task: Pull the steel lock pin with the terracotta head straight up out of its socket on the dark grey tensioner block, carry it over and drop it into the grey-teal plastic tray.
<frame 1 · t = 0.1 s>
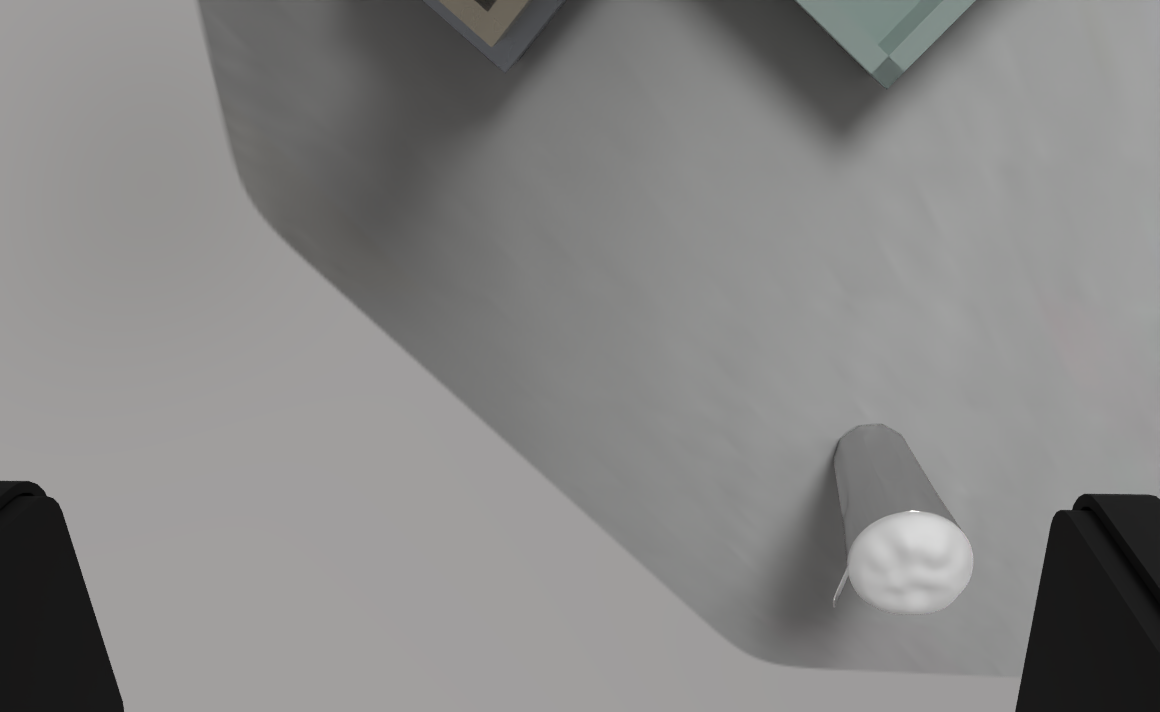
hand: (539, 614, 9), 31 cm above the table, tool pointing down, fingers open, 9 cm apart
milkshake: (860, 452, 43), on the table
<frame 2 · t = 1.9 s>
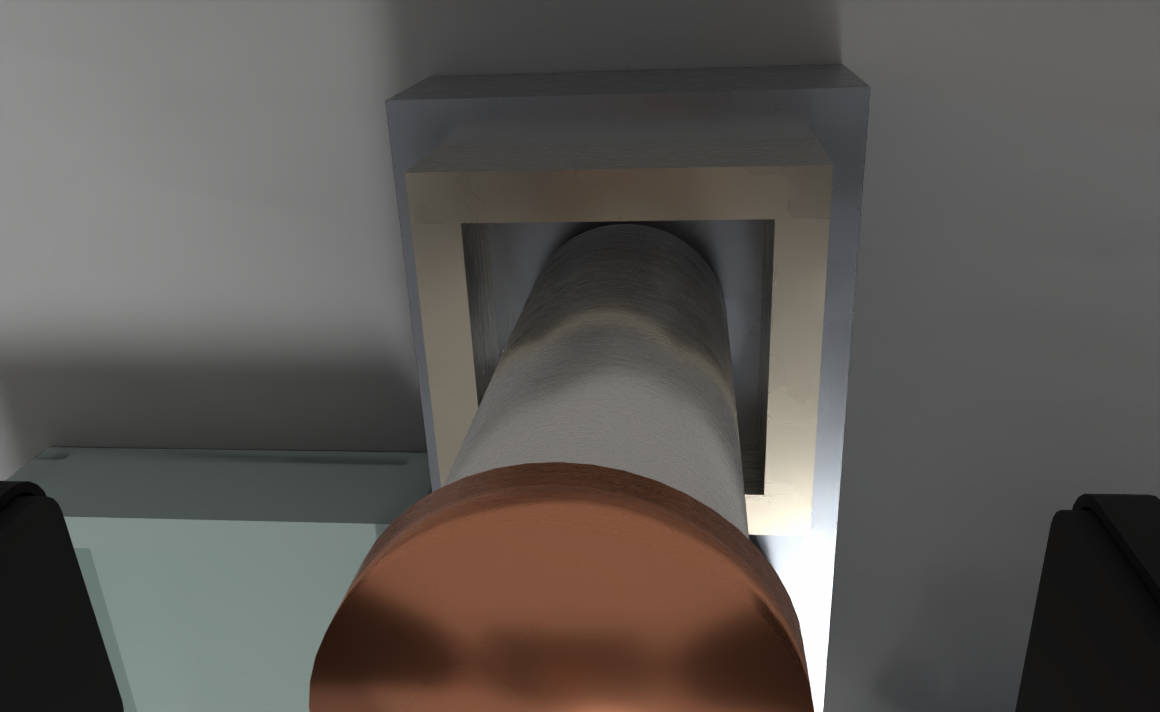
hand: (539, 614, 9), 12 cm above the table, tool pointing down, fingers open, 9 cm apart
lock pin: (626, 320, 17), point 3 cm above the table, touching tensioner
tray: (286, 664, 26), on the table
tensioner: (637, 396, 21), on the table
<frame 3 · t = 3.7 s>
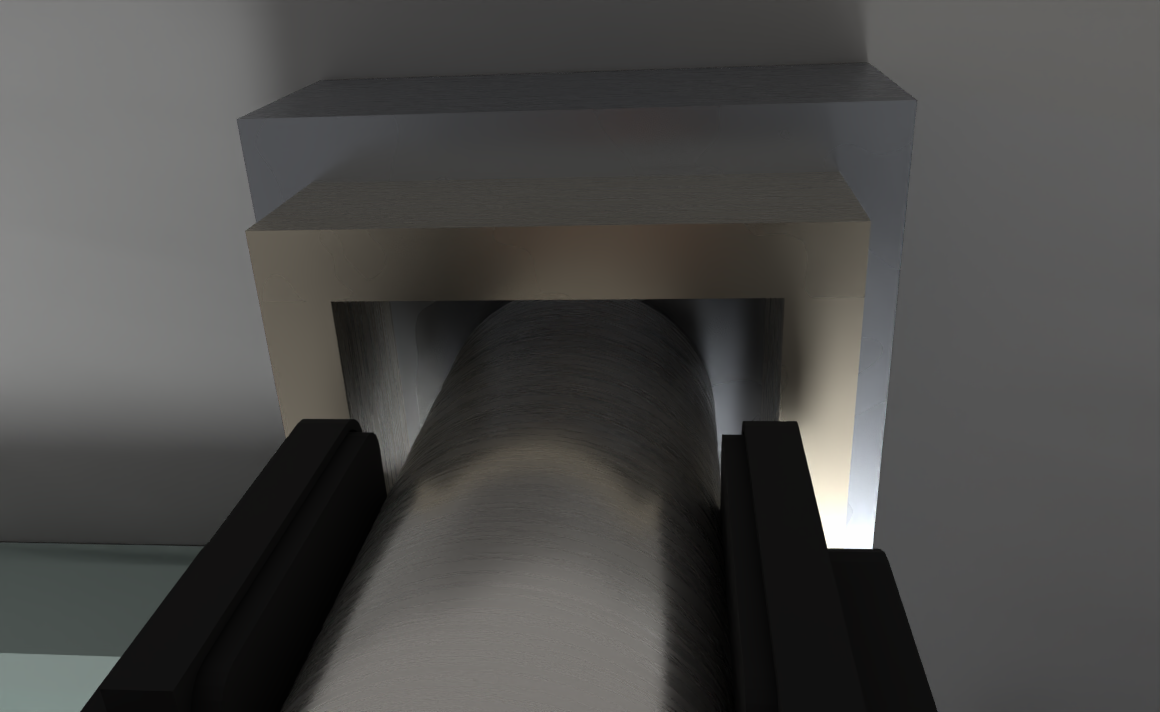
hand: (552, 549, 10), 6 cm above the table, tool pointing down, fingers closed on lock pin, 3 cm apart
lock pin: (579, 412, 13), point 3 cm above the table, touching gripper, tensioner
tensioner: (602, 483, 17), on the table
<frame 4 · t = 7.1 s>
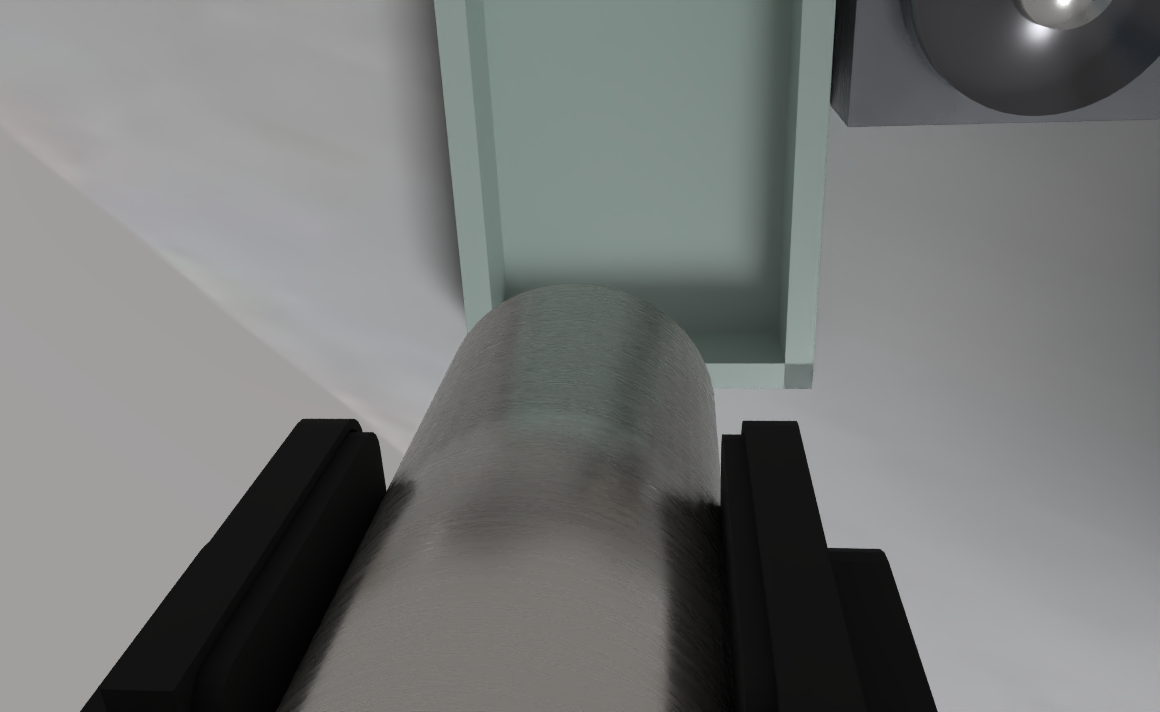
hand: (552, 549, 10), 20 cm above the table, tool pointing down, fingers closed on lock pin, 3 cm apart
lock pin: (579, 409, 13), point 17 cm above the table, touching gripper
tray: (639, 145, 28), on the table
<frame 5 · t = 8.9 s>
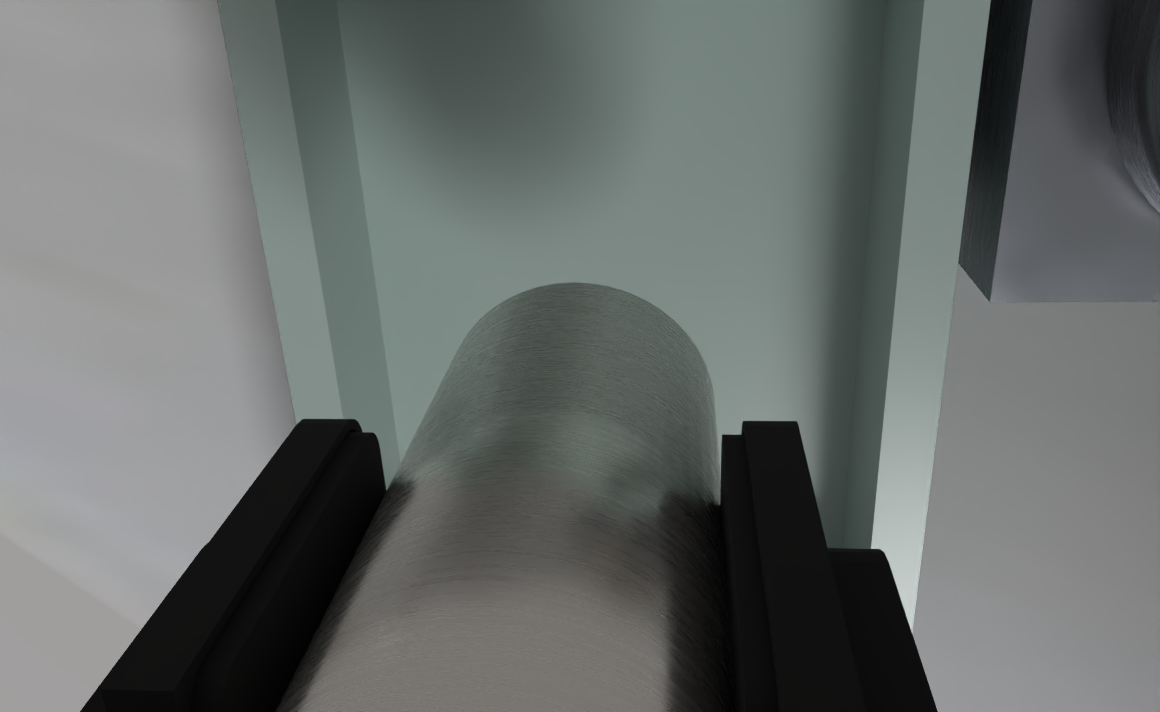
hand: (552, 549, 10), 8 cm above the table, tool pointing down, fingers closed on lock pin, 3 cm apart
lock pin: (579, 408, 13), point 5 cm above the table, touching gripper
tray: (615, 295, 17), on the table
when the fingers open (5 cm above the table, at t = 10.4 s): lock pin drops 1 cm, resting on tray.
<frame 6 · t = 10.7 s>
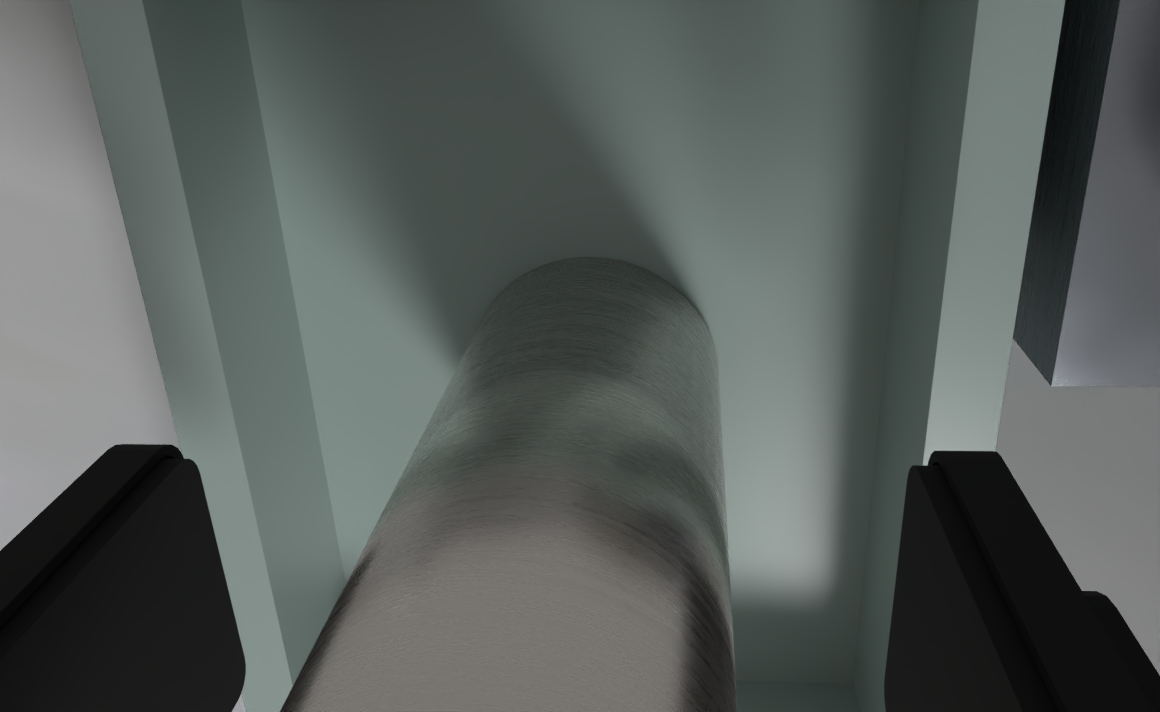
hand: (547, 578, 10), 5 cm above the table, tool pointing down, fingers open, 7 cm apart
lock pin: (593, 374, 14), point 1 cm above the table, touching tray
tray: (590, 356, 14), on the table
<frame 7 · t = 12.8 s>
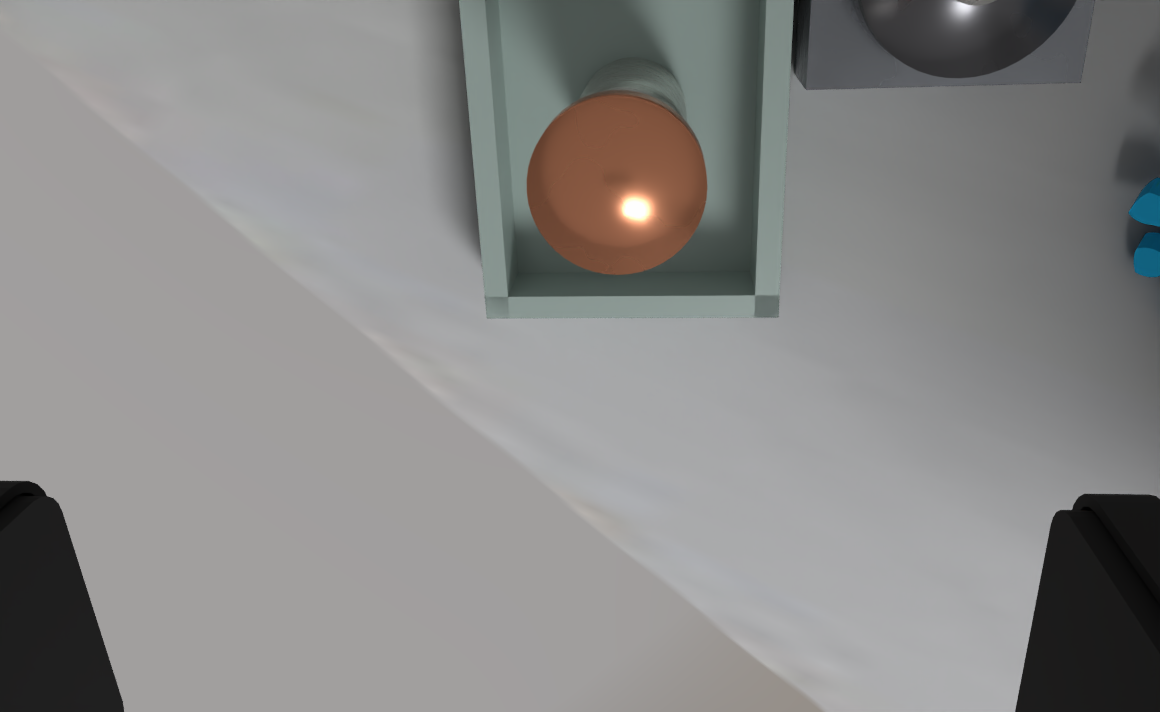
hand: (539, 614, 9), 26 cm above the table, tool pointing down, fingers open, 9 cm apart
lock pin: (632, 112, 32), point 1 cm above the table, touching tray
tray: (630, 109, 33), on the table
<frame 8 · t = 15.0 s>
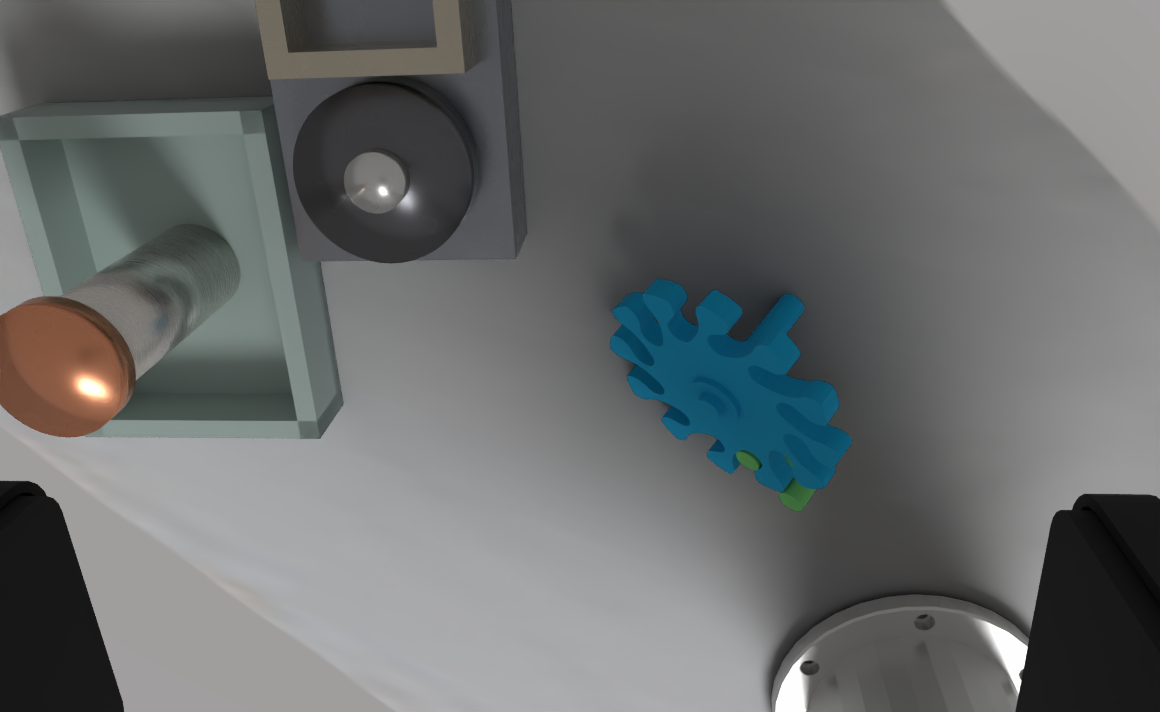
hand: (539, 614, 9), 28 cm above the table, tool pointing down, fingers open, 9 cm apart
lock pin: (196, 267, 38), point 1 cm above the table, touching tray
tray: (201, 262, 39), on the table
gear: (726, 355, 39), on the table
tensioner: (405, 49, 35), on the table
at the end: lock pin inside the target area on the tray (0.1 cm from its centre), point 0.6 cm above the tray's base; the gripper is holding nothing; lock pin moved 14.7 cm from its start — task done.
